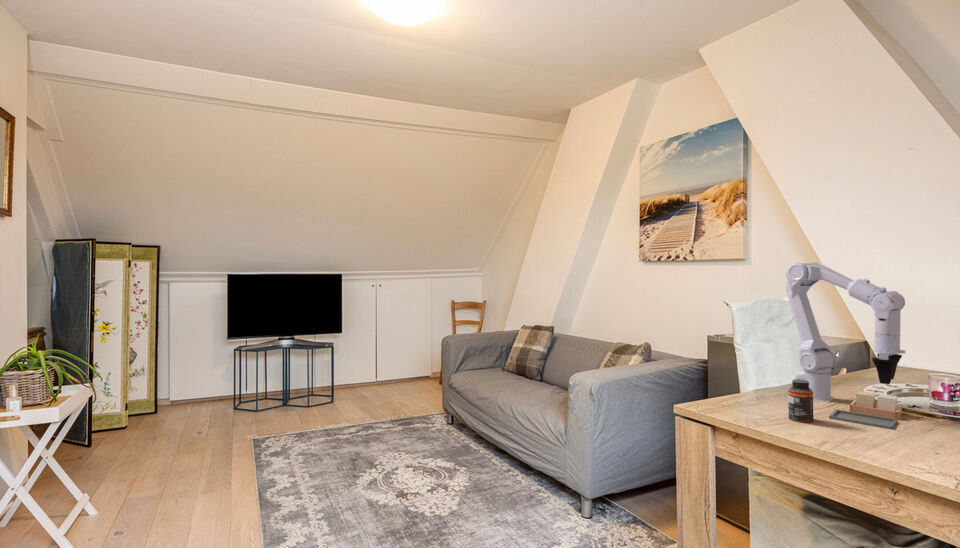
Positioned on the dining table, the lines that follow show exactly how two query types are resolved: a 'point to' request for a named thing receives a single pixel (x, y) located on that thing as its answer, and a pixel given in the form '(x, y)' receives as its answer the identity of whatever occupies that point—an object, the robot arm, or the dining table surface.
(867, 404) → the tan cube
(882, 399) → the cream cube on tray
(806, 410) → the supplement bottle
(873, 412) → the terracotta dish
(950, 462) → the dining table surface
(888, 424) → the parts tray
